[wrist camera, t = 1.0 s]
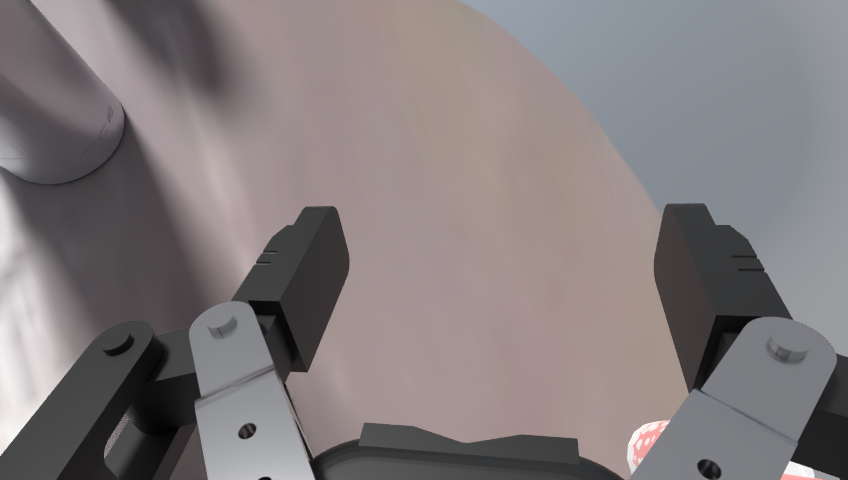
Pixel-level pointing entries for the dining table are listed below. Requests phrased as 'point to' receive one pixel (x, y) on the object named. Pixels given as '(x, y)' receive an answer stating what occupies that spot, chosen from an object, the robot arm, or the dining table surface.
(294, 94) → the dining table surface
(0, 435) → the dining table surface
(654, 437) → the beverage cup
